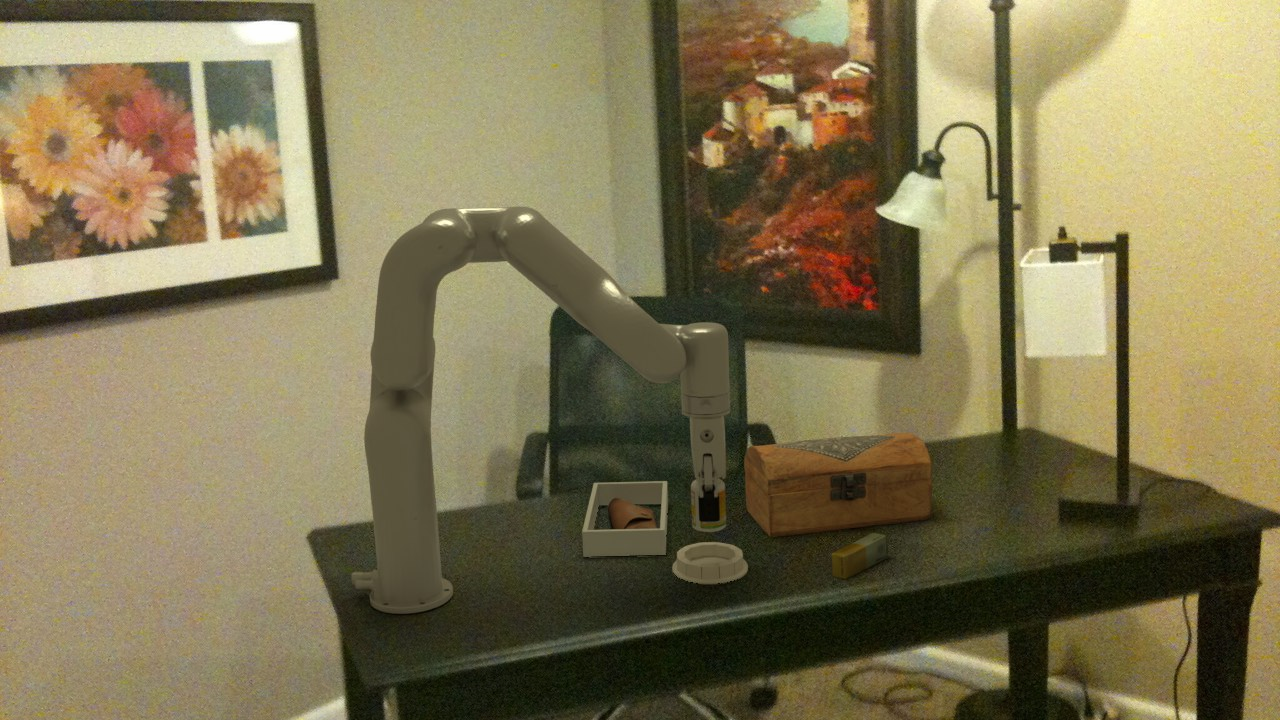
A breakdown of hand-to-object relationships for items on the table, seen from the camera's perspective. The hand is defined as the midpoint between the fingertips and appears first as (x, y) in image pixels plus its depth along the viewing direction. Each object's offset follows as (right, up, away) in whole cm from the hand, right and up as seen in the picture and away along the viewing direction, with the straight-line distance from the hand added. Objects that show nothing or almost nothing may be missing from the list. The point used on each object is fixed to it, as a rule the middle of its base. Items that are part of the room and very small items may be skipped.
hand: (709, 513), depth 189 cm
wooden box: (+24, -4, +24) cm, 35 cm away
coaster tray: (0, -9, +2) cm, 9 cm away
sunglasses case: (-12, -6, +21) cm, 25 cm away
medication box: (+24, -9, +1) cm, 26 cm away
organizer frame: (-13, -6, +21) cm, 25 cm away
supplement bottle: (0, -2, +1) cm, 2 cm away
